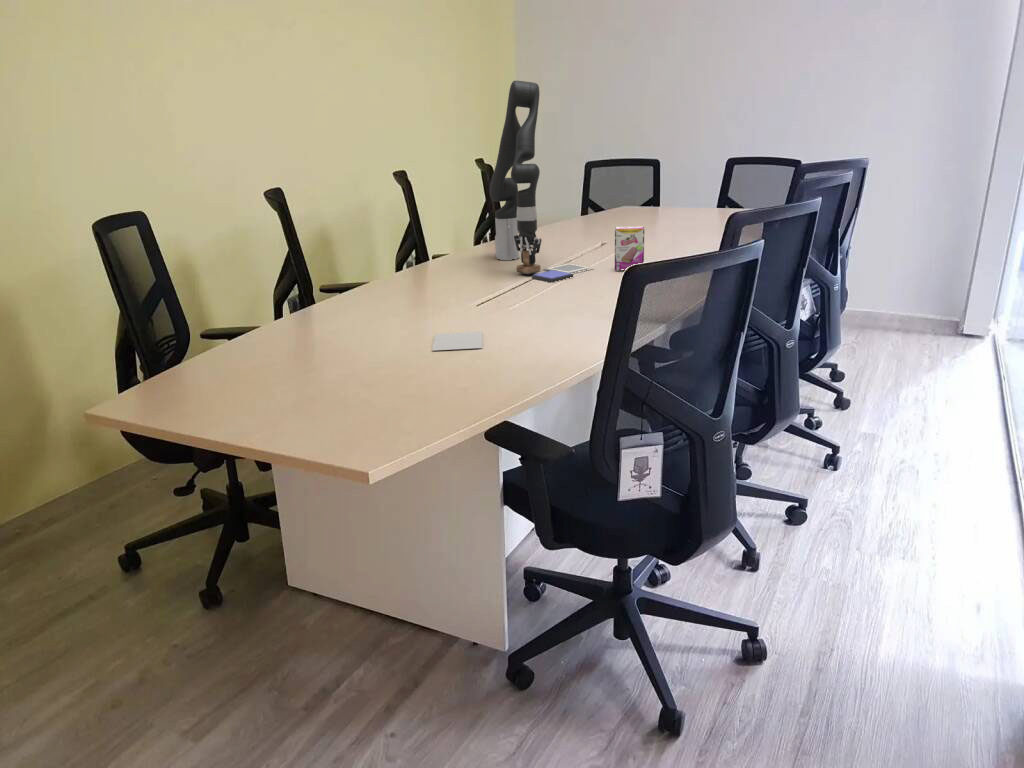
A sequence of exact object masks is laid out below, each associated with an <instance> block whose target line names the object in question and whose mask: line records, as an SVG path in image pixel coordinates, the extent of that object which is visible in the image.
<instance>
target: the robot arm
mask: <svg viewBox="0 0 1024 768" xmlns="http://www.w3.org/2000/svg"><path fill="white" fill-rule="evenodd" d="M508 90H509V91H508V97H507V98H508V99H507V106H506V111H505V113H506V114H505V121H504V124H503V128H502V134H501V137H500V143H499V148H498V154H497V159H496V164H495V167H494V169H493V173H492V177H491V181H490V183H489V184H490V185H489V197H490V199H491V200H492V201H493V202H501V203H502V202H505V203H504V205H502V206H501V207H499V209H497V210H495V212H494V217H495V218H494V220H495V222H494V223H495V236H494V246H495V247H494V248H495V259H497V260H498V259H500V260H499V261H513V260H512V259H515V260H518V259H519V258H521V259H520V260H521V263H522V264H523V251H525V250H529V254H530V255H529V264H530V265H532V264H536V254H539V253H540V249H541V244H542V242H543V241H542V238H538V237H537V234H536V232H537V231H538V218H537V217H538V213H537V207H536V205H537V204H536V203H537V202H536V193H537V186H538V183H539V178H540V171H541V170H540V168H539V166H538V164H536V163H525V162H528V161H530V160H533V159H534V158H535V156H536V154H535V153H536V150H535V149H536V145H535V144H536V142H535V141H536V139H535V138H536V128H537V120H538V114H539V112H538V111H539V104H540V87H539V84H538V83H536V82H532V81H531V82H530V81H524V80H513V81H512V82H511V84H510V87H509V89H508ZM518 107H519V108H525V109H526V108H527V109H529V111H528V115H527V117H526V119H525V120H524V122H523V123H522V125H520V122H519V120H518V119H519V118H518V117H517V108H518ZM509 172H510V177H507V175H508V173H509ZM519 184H529V186H528V187H527V188H524V189H521V190H519V187H518V185H519ZM517 258H518V259H517Z"/></svg>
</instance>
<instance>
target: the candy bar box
mask: <svg viewBox="0 0 1024 768" xmlns="http://www.w3.org/2000/svg"><path fill="white" fill-rule="evenodd" d="M644 260H645V226H642V225H641V226H615V227H614V271H615V270H621V269H624V270H625V269H626V268H627V267H629V266H631V265H633V264H638V263H643V262H644V263H645V261H644ZM624 270H623V271H622V272H625V271H624Z"/></svg>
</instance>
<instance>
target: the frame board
mask: <svg viewBox="0 0 1024 768" xmlns="http://www.w3.org/2000/svg"><path fill="white" fill-rule="evenodd" d="M575 264H576V263H575ZM575 264H574V263H570V262H569V263H564V264H560V265H554V266H551V267H550V266H549V267H547V268H543V269H542V271H543V270H546V271H545V272H548V271H552V270H555V271H560V272H565V273H575V272H578V271H583V270H587V269H589V268H590V267H591V266H588V267H586V265H582V264H581V265H580V264H576V265H575Z"/></svg>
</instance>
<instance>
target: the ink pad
mask: <svg viewBox="0 0 1024 768" xmlns="http://www.w3.org/2000/svg"><path fill="white" fill-rule="evenodd" d="M570 277H573V278H574V274H571V273H565V272H560V271H555V270H552V271H544V272H538V273H533V275H531V279H533V280H537V281H541V282H546V281H547V283H551V282H552V283H556V282H555V281H557V282H560V281H559V280H561V281H564V280H563V279H565V280H567V279H566V278H569V279H571V278H570Z"/></svg>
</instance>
